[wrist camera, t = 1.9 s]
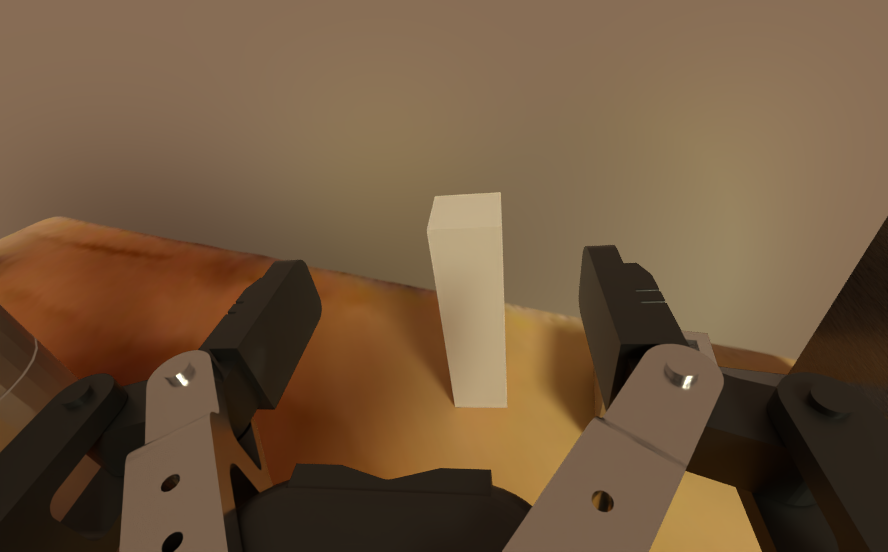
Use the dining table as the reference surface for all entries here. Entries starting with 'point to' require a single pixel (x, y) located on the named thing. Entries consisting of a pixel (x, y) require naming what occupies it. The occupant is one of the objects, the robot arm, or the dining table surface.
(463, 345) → the rail post
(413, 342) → the dining table surface
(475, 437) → the dining table surface
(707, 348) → the cup bracket
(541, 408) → the dining table surface
